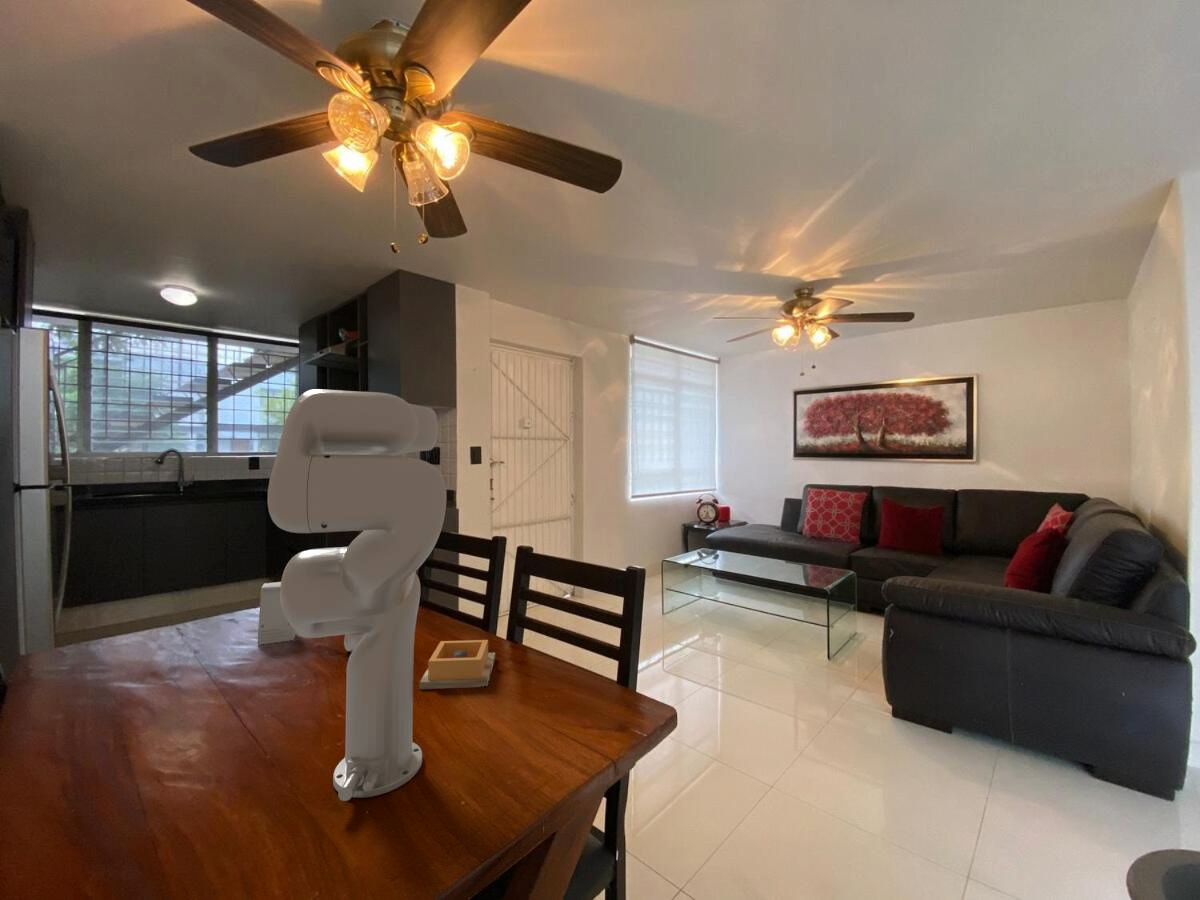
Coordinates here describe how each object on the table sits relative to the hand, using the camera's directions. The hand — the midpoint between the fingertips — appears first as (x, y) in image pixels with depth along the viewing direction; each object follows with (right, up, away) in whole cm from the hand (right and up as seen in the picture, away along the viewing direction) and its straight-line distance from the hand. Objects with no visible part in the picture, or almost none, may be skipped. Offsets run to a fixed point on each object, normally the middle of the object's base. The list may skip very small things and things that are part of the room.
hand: (383, 563), depth 91 cm
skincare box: (-44, -29, +34) cm, 63 cm away
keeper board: (+10, -29, +16) cm, 34 cm away
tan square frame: (+10, -27, +15) cm, 33 cm away
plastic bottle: (-19, -29, +28) cm, 44 cm away
